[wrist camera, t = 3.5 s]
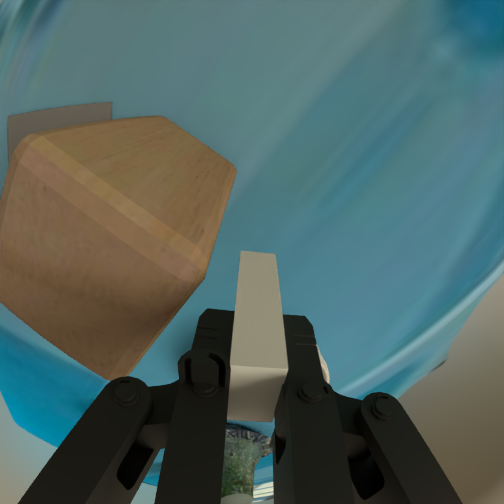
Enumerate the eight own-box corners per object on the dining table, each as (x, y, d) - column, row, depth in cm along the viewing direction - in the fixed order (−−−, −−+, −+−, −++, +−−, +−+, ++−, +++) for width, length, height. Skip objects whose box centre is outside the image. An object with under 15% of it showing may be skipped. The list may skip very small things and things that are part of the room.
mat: (9, 116, 25) (7, 116, 24) (112, 102, 25) (111, 102, 25) (19, 233, 32) (17, 234, 31) (114, 244, 32) (113, 245, 32)
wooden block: (186, 243, 32) (118, 394, 14) (112, 191, 29) (-19, 293, 11) (241, 168, 28) (215, 273, 10) (159, 111, 26) (12, 128, 8)
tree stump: (158, 432, 52) (150, 501, 34) (224, 384, 50) (233, 462, 33) (222, 466, 56) (228, 528, 39) (288, 425, 55) (310, 491, 38)
